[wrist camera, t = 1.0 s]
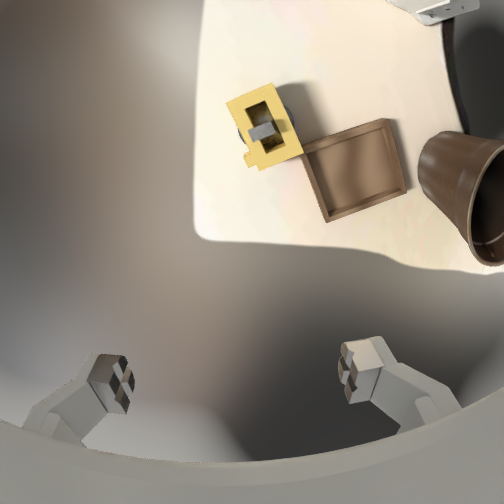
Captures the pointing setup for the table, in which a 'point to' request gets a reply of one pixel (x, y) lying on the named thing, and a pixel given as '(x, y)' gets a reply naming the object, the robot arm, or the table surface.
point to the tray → (354, 169)
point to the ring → (243, 122)
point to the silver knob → (264, 125)
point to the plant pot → (468, 189)
